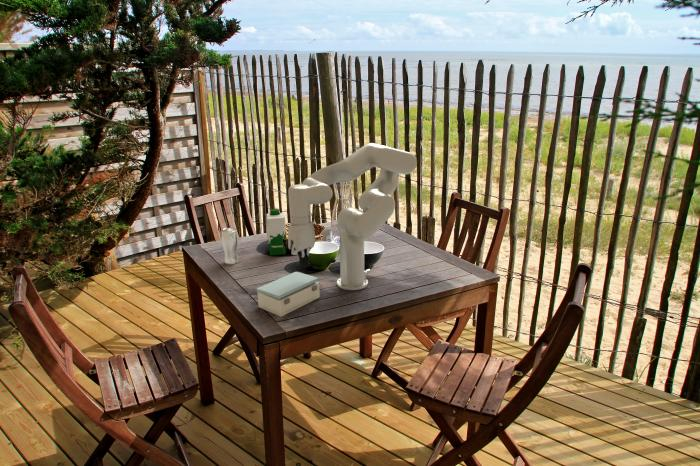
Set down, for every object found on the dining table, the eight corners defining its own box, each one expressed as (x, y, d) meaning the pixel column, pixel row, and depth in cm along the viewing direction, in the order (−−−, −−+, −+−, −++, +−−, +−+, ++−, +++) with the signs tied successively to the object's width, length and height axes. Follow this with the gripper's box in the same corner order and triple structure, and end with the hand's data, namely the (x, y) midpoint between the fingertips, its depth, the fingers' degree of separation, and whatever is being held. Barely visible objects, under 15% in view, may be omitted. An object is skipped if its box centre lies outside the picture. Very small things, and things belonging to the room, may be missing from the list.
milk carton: (286, 248, 250) (284, 207, 244) (287, 255, 242) (285, 213, 235) (267, 249, 248) (264, 209, 242) (268, 256, 240) (265, 214, 234)
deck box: (297, 288, 207) (296, 274, 205) (321, 297, 199) (320, 283, 197) (258, 306, 193) (257, 291, 191) (282, 317, 185) (281, 302, 183)
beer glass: (237, 264, 231) (235, 232, 226) (222, 265, 231) (218, 232, 226) (241, 259, 238) (238, 227, 233) (225, 259, 238) (222, 227, 233)
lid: (296, 274, 205) (296, 271, 205) (318, 280, 198) (318, 277, 197) (256, 291, 191) (256, 288, 191) (279, 299, 183) (278, 296, 183)
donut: (340, 246, 252) (340, 226, 249) (340, 248, 249) (340, 228, 245) (319, 246, 252) (319, 226, 249) (319, 249, 249) (318, 229, 245)
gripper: (308, 211, 197) (310, 257, 203) (278, 222, 187) (282, 269, 193) (322, 215, 192) (325, 261, 199) (293, 226, 182) (296, 274, 188)
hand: (304, 265), depth 196 cm, fingers closed
